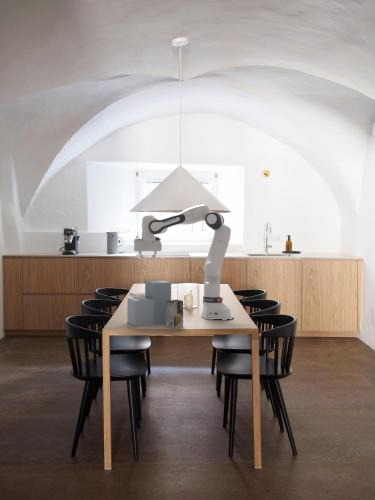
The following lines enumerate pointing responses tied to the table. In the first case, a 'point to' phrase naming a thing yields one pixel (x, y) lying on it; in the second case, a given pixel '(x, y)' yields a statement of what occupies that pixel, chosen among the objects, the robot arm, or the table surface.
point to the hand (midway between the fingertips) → (147, 257)
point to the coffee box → (174, 314)
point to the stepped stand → (150, 304)
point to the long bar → (137, 295)
